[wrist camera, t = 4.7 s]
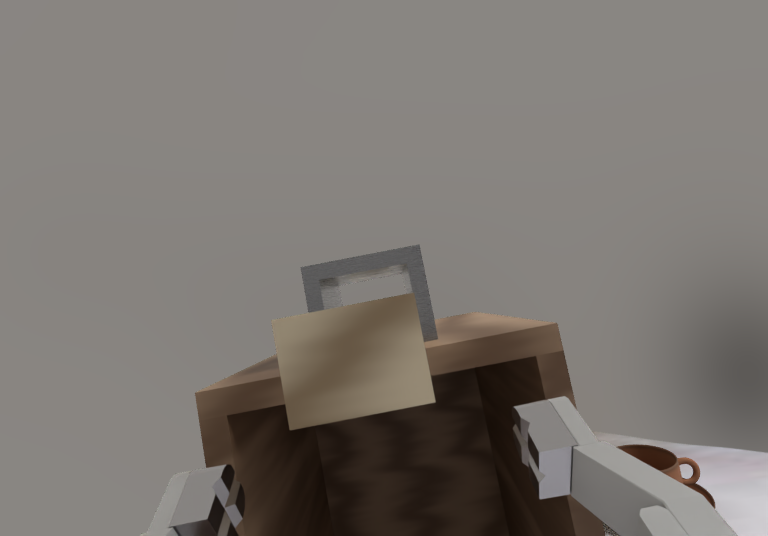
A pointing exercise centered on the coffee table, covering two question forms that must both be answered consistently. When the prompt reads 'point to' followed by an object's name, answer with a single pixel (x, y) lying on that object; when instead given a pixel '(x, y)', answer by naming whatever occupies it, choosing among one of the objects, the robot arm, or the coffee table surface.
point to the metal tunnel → (405, 261)
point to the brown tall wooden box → (402, 446)
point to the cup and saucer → (668, 465)
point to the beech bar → (352, 361)
